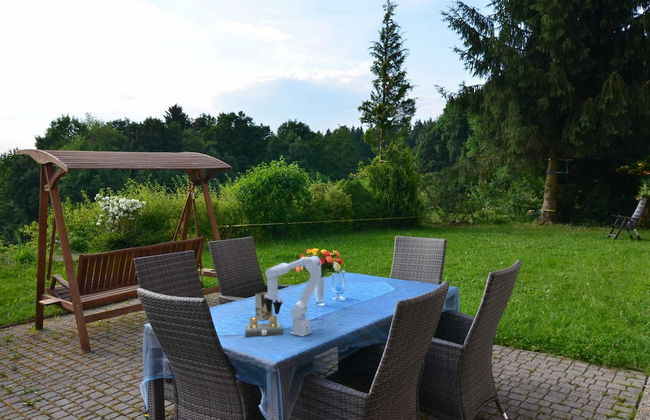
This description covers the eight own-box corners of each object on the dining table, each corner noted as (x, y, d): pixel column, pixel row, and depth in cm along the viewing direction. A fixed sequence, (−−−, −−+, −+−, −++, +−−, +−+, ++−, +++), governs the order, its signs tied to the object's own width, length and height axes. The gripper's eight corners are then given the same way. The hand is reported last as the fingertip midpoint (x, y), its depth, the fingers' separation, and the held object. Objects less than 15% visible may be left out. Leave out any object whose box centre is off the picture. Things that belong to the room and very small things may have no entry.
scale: (282, 335, 260) (282, 328, 260) (245, 337, 257) (245, 330, 257) (280, 327, 274) (280, 321, 274) (245, 329, 271) (245, 323, 271)
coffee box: (262, 321, 289) (261, 295, 289) (255, 319, 293) (254, 293, 293) (273, 317, 296) (272, 292, 296) (266, 316, 300) (265, 291, 300)
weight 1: (258, 327, 265) (258, 318, 265) (250, 328, 263) (250, 319, 263) (256, 325, 269) (256, 316, 269) (249, 326, 268) (248, 317, 267)
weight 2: (276, 326, 266) (276, 317, 265) (268, 326, 266) (268, 317, 266) (277, 324, 270) (277, 315, 270) (270, 324, 270) (269, 315, 270)
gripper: (285, 289, 264) (286, 313, 265) (271, 286, 275) (271, 309, 276) (275, 291, 260) (275, 316, 260) (261, 287, 271) (261, 311, 271)
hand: (273, 312), depth 268 cm, fingers open, 7 cm apart
